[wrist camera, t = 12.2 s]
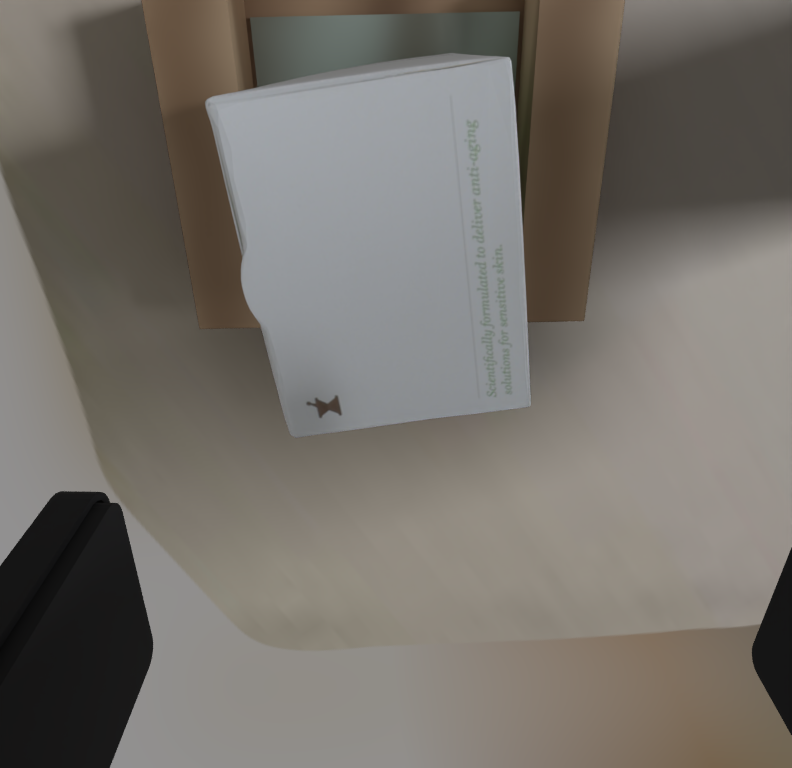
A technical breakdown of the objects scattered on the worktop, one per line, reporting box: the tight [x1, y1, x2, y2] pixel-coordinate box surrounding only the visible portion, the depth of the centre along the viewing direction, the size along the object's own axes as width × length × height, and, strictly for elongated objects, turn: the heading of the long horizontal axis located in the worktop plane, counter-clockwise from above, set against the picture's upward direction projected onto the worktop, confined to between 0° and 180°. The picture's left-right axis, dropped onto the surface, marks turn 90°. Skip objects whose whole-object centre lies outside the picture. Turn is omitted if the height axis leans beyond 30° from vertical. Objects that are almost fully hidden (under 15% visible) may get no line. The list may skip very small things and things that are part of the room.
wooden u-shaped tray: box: [142, 0, 625, 329], centre depth 28 cm, size 17×13×5 cm
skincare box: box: [205, 53, 531, 438], centre depth 21 cm, size 8×7×16 cm
